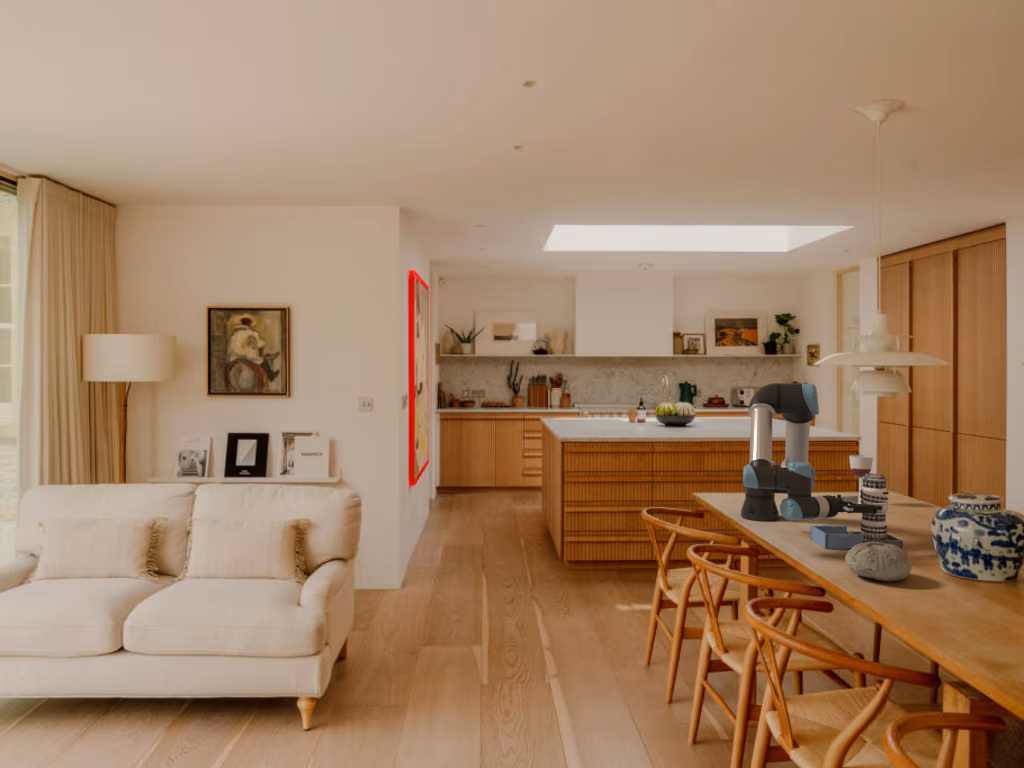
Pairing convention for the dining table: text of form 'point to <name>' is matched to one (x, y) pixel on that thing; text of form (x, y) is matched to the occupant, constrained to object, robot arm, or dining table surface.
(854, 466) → the wineglass
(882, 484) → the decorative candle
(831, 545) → the blue tray
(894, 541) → the charcoal holder
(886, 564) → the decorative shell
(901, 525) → the dining table surface
